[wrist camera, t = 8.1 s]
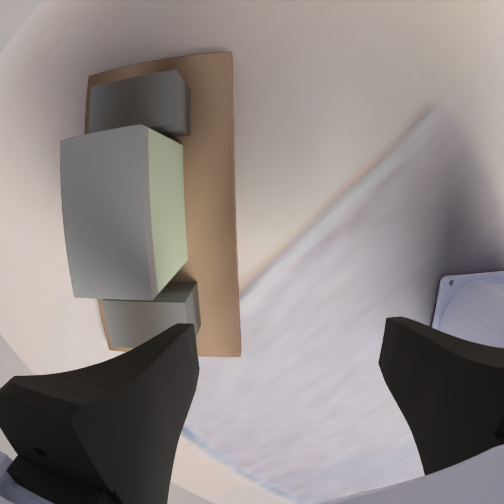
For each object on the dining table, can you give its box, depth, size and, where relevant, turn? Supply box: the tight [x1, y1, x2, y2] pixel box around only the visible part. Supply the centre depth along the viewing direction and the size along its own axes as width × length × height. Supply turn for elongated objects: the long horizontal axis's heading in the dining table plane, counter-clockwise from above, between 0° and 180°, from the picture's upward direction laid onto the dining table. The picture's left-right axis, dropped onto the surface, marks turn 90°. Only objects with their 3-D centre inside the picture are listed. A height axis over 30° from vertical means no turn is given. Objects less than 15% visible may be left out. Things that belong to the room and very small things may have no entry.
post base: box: [85, 52, 241, 357], centre depth 16 cm, size 10×20×4 cm, turn 1°
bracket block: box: [60, 124, 188, 300], centre depth 14 cm, size 4×7×7 cm, turn 2°
